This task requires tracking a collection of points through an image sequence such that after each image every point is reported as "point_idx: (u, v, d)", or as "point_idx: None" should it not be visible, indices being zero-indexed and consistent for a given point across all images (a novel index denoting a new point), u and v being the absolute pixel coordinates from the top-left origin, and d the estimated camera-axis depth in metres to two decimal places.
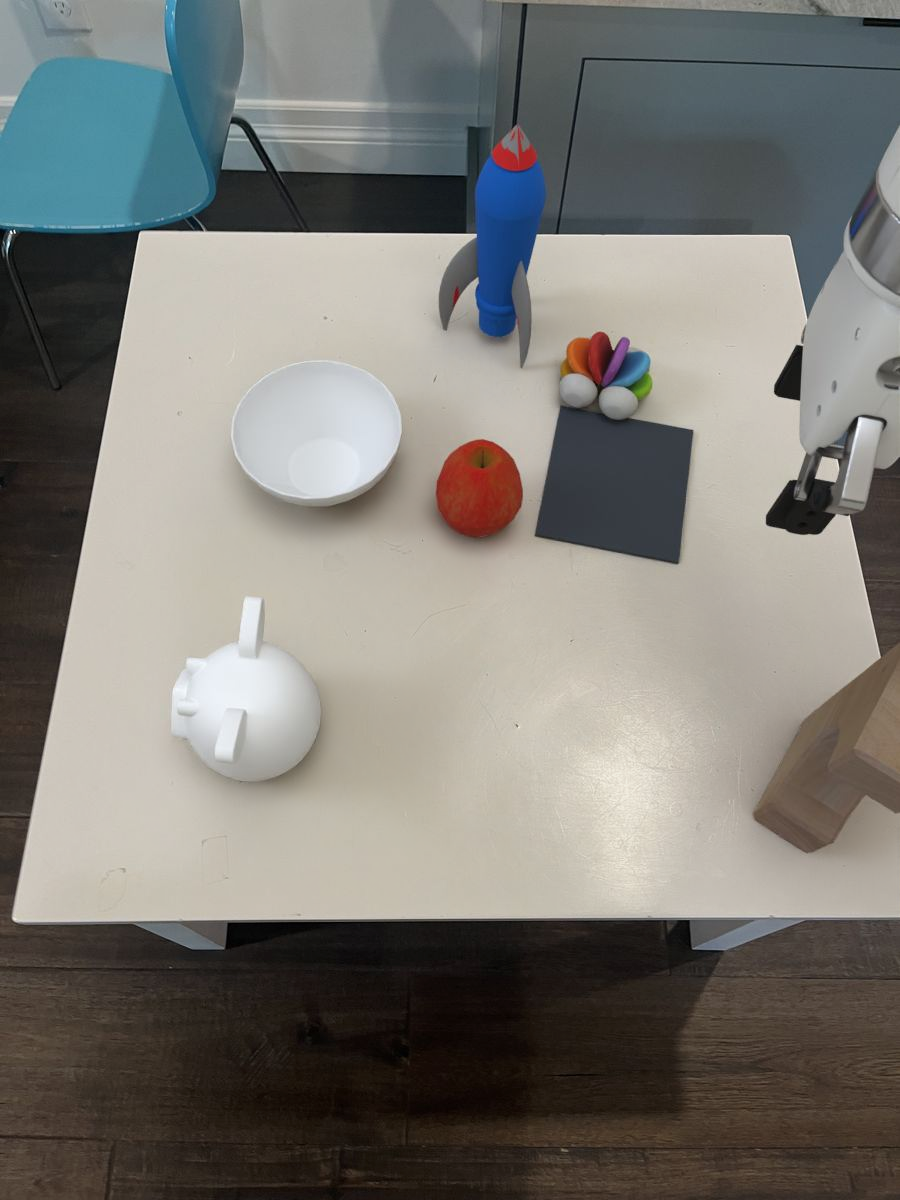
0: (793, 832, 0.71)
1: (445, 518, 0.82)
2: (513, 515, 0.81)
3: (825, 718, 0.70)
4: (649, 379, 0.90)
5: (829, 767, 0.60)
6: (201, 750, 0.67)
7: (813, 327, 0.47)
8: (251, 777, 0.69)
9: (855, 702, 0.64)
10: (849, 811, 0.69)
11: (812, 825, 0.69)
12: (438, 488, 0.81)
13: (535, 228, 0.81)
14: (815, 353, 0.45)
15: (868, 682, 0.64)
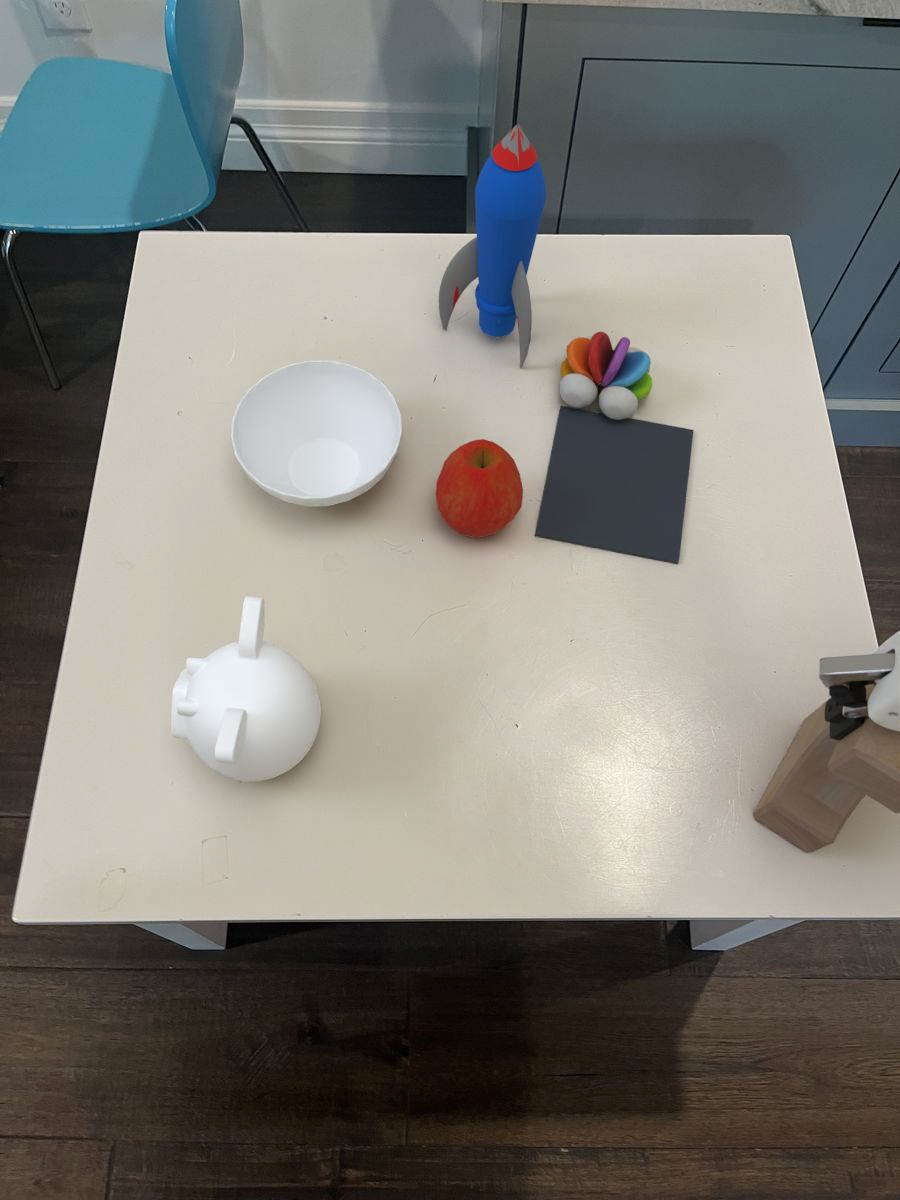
0: (792, 831, 0.71)
1: (445, 518, 0.82)
2: (513, 515, 0.81)
3: None
4: (649, 379, 0.90)
5: (829, 767, 0.60)
6: (201, 750, 0.67)
7: None
8: (251, 777, 0.69)
9: None
10: (849, 811, 0.69)
11: (812, 825, 0.69)
12: (438, 488, 0.81)
13: (535, 228, 0.81)
14: None
15: None
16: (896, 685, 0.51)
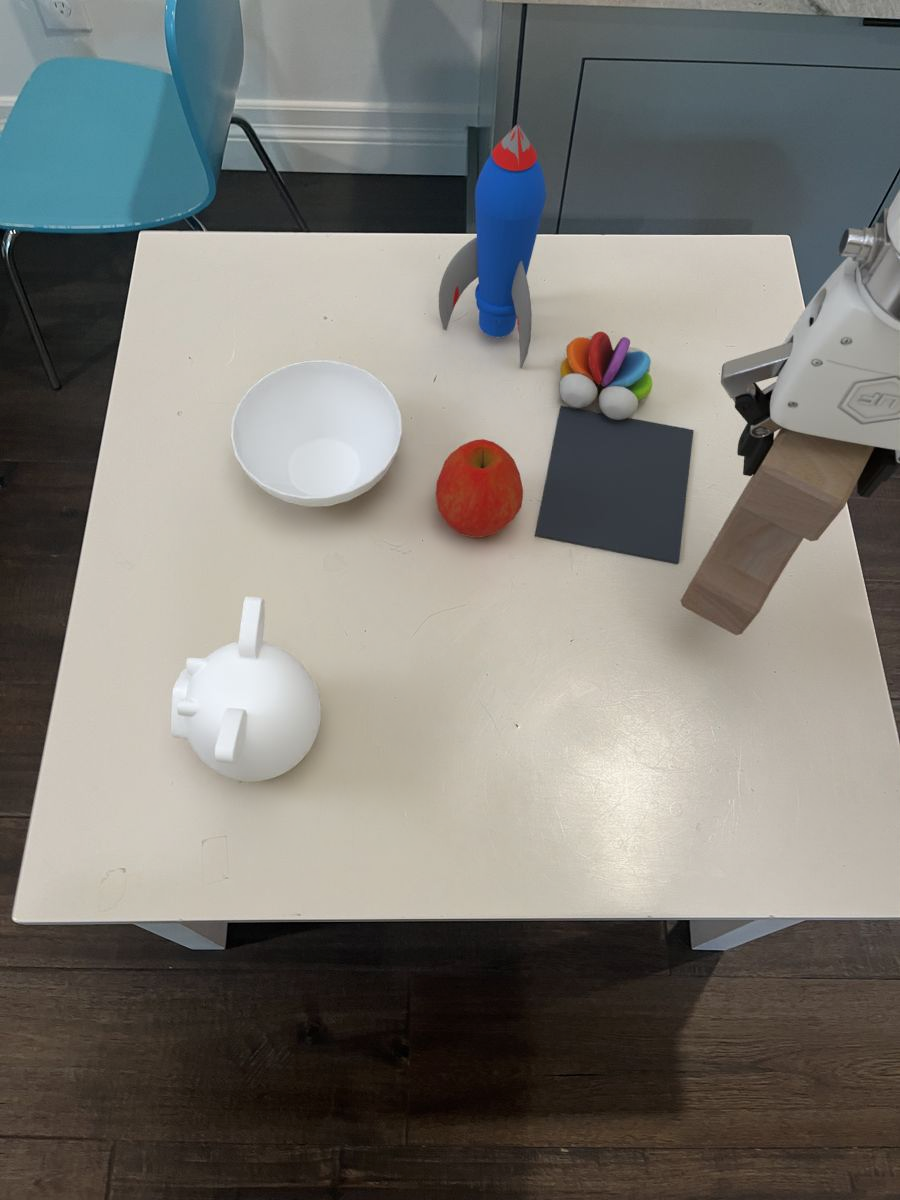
0: (719, 609, 0.69)
1: (445, 518, 0.82)
2: (513, 515, 0.81)
3: None
4: (649, 379, 0.90)
5: (741, 501, 0.58)
6: (201, 750, 0.67)
7: None
8: (251, 777, 0.69)
9: None
10: (773, 579, 0.67)
11: (737, 596, 0.67)
12: (438, 488, 0.81)
13: (535, 228, 0.81)
14: None
15: None
16: (793, 365, 0.49)
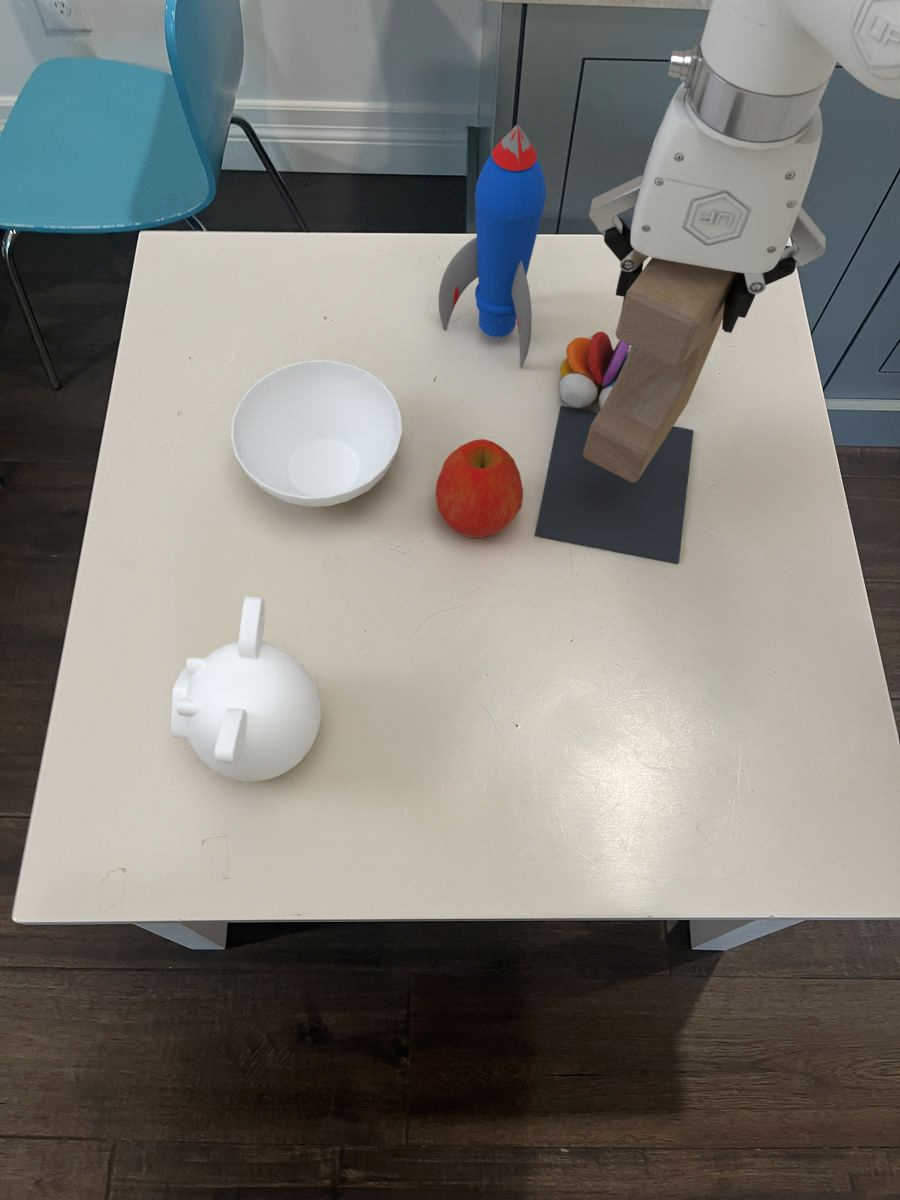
0: (614, 456, 0.76)
1: (445, 518, 0.82)
2: (513, 515, 0.81)
3: None
4: None
5: (616, 333, 0.65)
6: (201, 750, 0.67)
7: None
8: (251, 777, 0.69)
9: None
10: (661, 424, 0.74)
11: (628, 440, 0.74)
12: (438, 488, 0.81)
13: (535, 228, 0.81)
14: None
15: None
16: (642, 189, 0.56)
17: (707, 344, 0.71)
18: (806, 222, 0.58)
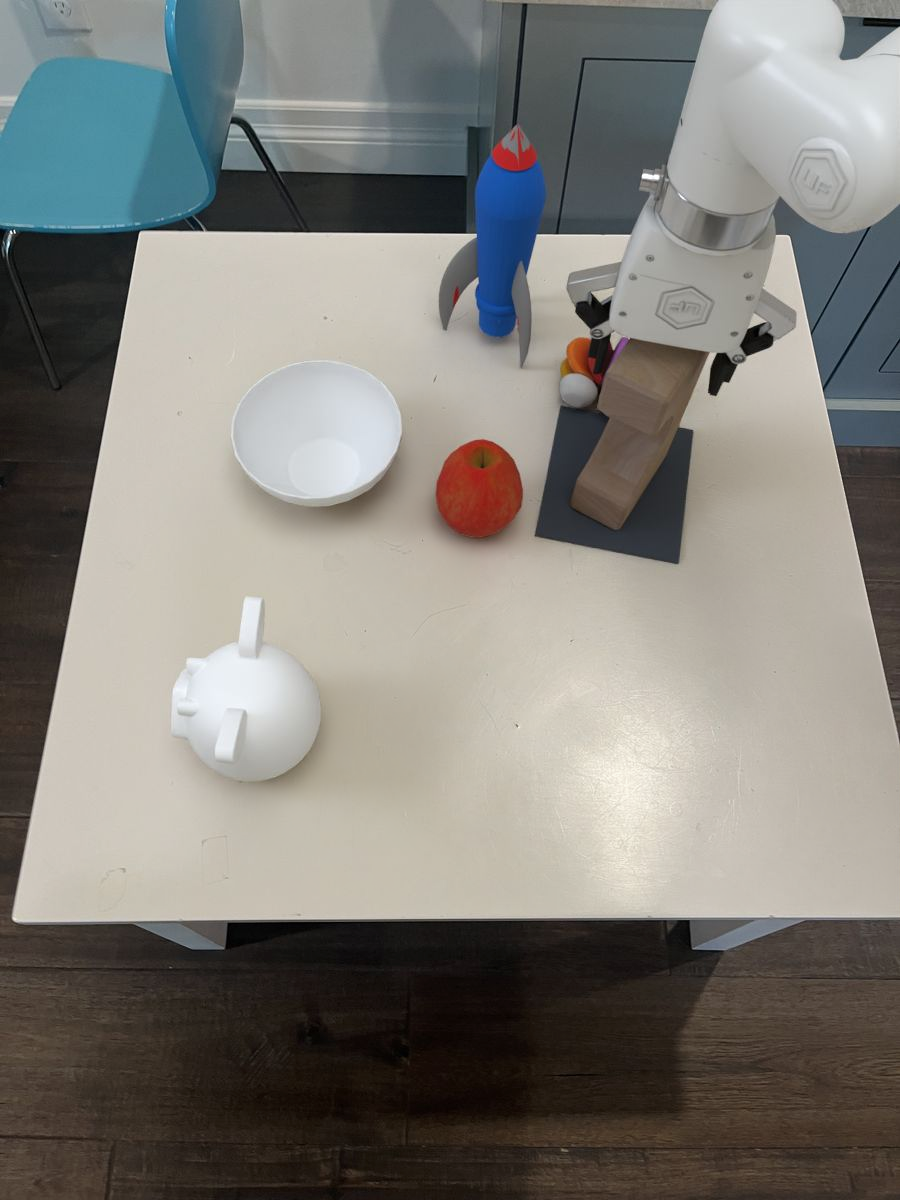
0: (599, 507, 0.83)
1: (445, 518, 0.82)
2: (513, 515, 0.81)
3: None
4: None
5: (598, 405, 0.72)
6: (201, 750, 0.67)
7: None
8: (251, 777, 0.69)
9: None
10: (640, 479, 0.81)
11: (610, 493, 0.81)
12: (438, 488, 0.81)
13: (535, 228, 0.81)
14: None
15: None
16: (619, 281, 0.63)
17: (681, 408, 0.79)
18: (771, 303, 0.64)
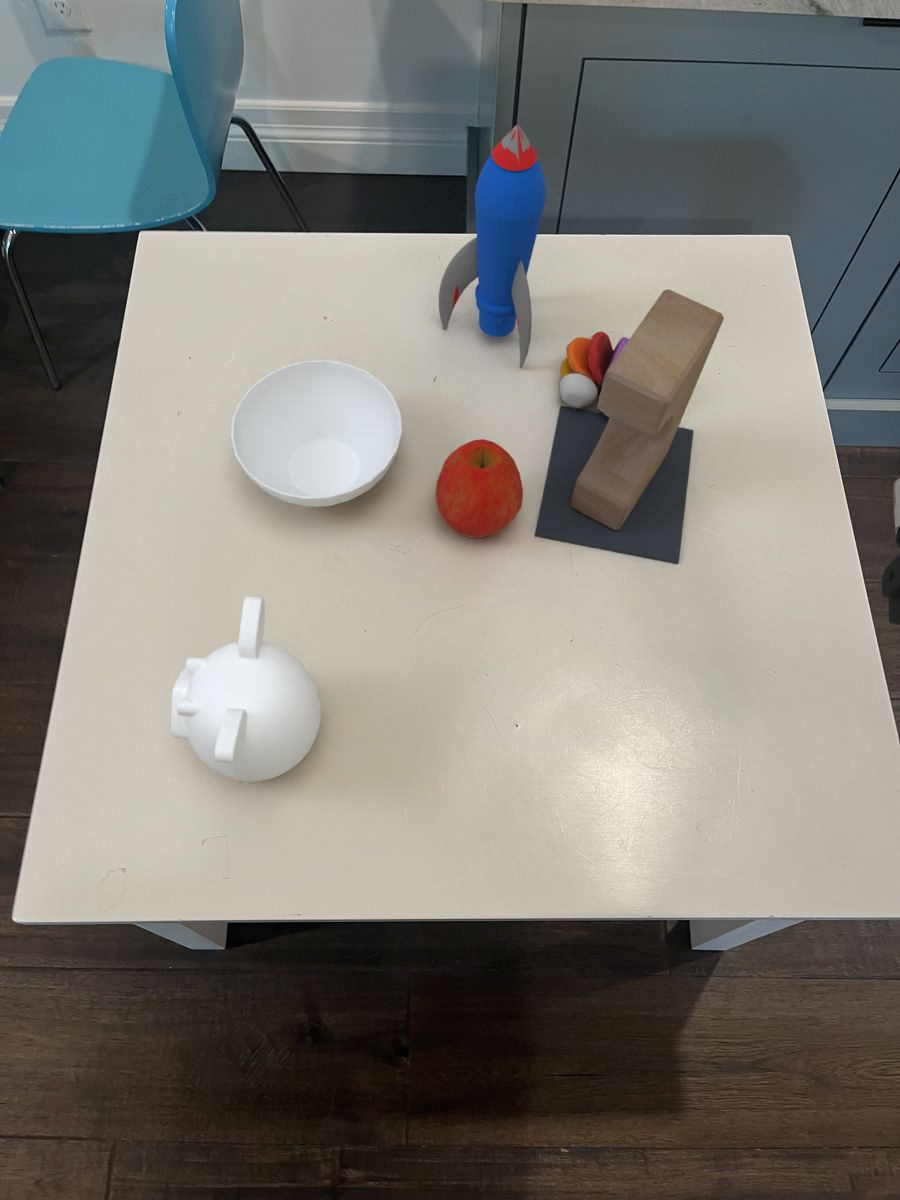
0: (599, 507, 0.83)
1: (445, 518, 0.82)
2: (513, 515, 0.81)
3: None
4: None
5: (598, 405, 0.72)
6: (201, 750, 0.67)
7: None
8: (251, 777, 0.69)
9: None
10: (640, 479, 0.81)
11: (610, 493, 0.81)
12: (438, 488, 0.81)
13: (535, 228, 0.81)
14: None
15: None
16: None
17: (681, 408, 0.79)
18: None
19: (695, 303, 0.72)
